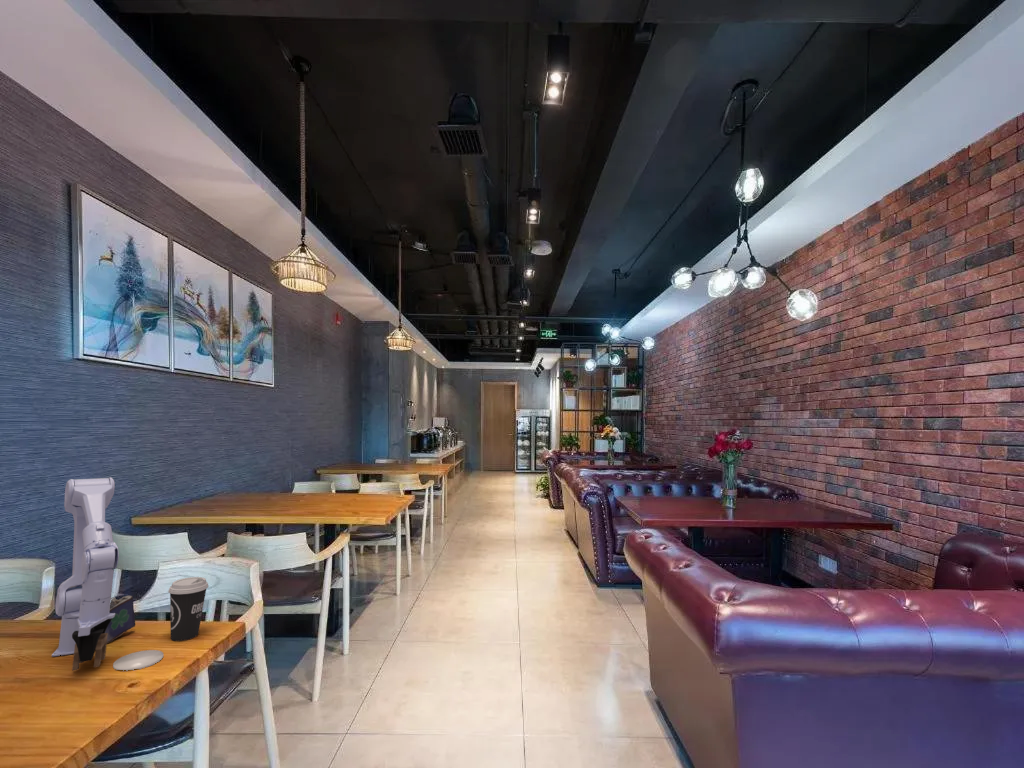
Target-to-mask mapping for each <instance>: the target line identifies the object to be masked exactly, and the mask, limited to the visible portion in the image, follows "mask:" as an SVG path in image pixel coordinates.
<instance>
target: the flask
mask: <svg viewBox="0 0 1024 768" xmlns="http://www.w3.org/2000/svg"><path fill="white" fill-rule="evenodd" d="M134 608H135V605H134V597H133V595H125V596H123V597H121V598H119V599H118V598H117V599H116V597H115V596H113V597H112V596H111V601H110V611H109V612H110V613H115V616H114V618H112V620H111V622H110V623H109V625H108V627H107V629H106V632H105V633H108V635H107V644H109V643H111V642H113V641H114V640H116V639H117V638H119V637H121V636H122V635H124V633H127V632H128V631H129V630H132V628H135V627H136V625H137V624H136V615H135V609H134Z"/></svg>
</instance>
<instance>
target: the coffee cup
mask: <svg viewBox="0 0 1024 768" xmlns="http://www.w3.org/2000/svg"><path fill="white" fill-rule="evenodd" d="M208 588H209V583H208V581H207V578H206V577H203V576H202V577H201V576H200V577H199V576H192V577H184V578H180V579H177V580H174V581H173V582H172V584H171V586H170V587H169V588H168V590H167V592H168V593H169V596H170V597H169V598H170V599H169V600H170V601H169V602H170V605H169V606H170V607H169V608H170V617H169V618H170V620H169V622H170V640H171V641H173V642H183V641H188V640H191V639H194V638H196V637H197V636H199V632H200V627H201V626H200V625H201V621H202V615H203V608H204V603H205V599H206V593H207V589H208Z"/></svg>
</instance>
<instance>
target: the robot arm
mask: <svg viewBox="0 0 1024 768" xmlns="http://www.w3.org/2000/svg"><path fill="white" fill-rule="evenodd" d="M115 485H116V484H115V480H114V479H113V478H112V477H111V476H110V477H105V478H104V477H102V478H99V477H98V478H81V479H77V478H76V479H73V478H71V479H69V480H67V481H66V484H65V488H64V489H65V490H64V503H63V507H64V511H65V512H66V513H70V514H72V517H73V522H74V523H73V524H74V525H73V530H74V531H73V547H72V548H73V550H72V569H71V570H72V572H71V573H72V574H71V576H70V577H69V578H67V579H66V580H63V582H62V583H60V584H59V587H58V588H57V593H56V598H55V614H56V615H57V616H58V617H61V621H60V622H61V623H60V633H59V641H58V647H57V648H56V650H54V652H53V653H52V654H51V657H59V656H60V655H61V656H67V655H74V649H75V644H76V645H77V648H78V653H79V659H80V662H83V663H84V662H90V661H92V660H93V658H94V657H95V651H96V650H95V649H96V645H97V642H98V639H99V637H100V635H101V634H102V633H105V632H106V629H107V627H108V625H109V623H110V622H111V620H112V618H114V616H115V613H110V612H109V611H110V603H111V600H112V599H111V598H112V590H113V581H114V580H113V579H114V571H115V569H117V568H118V564H119V557H120V556H119V555H120V553H119V552H120V551H119V547H118V545H117V542H115V541H114V538H113V531H112V525H111V524H109V523H108V522H106V509H108V506H109V505H110V503H111V501H112V498H113V497H114V493H115Z"/></svg>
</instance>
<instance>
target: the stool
mask: <svg viewBox="0 0 1024 768" xmlns="http://www.w3.org/2000/svg"><path fill="white" fill-rule="evenodd" d="M107 635H108V633H102V634H101V635H100V637H99V639H98V642H97V645H96V649H95V650H96V651H95V653H94V661H93V668H100V666H101V662H102V661H104V660H105V659H106V654H107V651H106V650H107V644H108V643H107ZM82 663H84V662H80V659H79V653H78V648H77V645H76V644H75V649H74V654H73V657H72V668H71V670H72V671H78V670H79V669H80V664H82Z"/></svg>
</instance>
